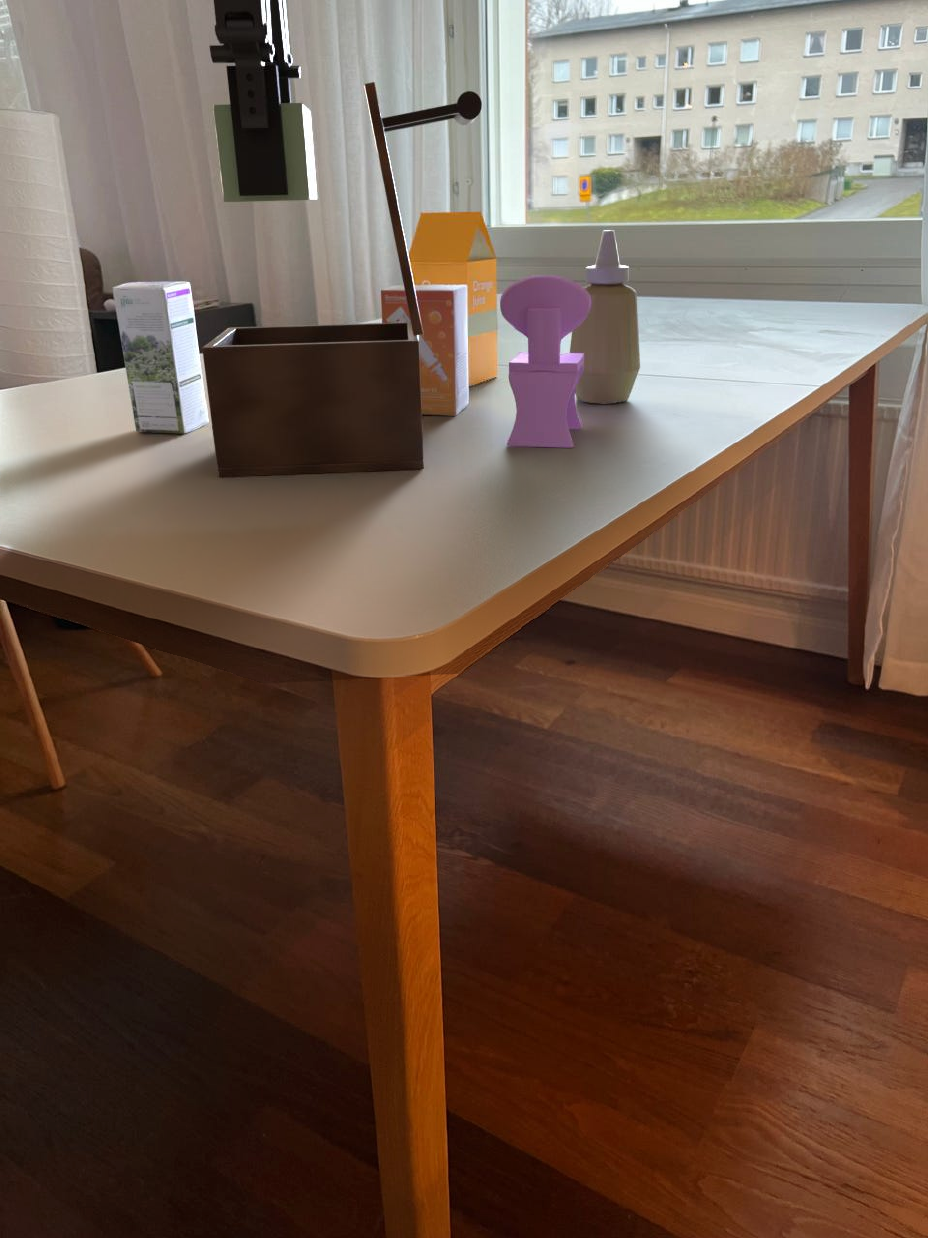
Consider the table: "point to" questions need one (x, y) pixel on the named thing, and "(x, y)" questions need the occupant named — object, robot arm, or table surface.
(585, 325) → the squeeze bottle
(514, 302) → the toy chair
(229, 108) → the block
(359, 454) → the chest
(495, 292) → the orange juice
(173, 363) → the syrup box
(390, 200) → the lid
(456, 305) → the small box
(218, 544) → the table surface
